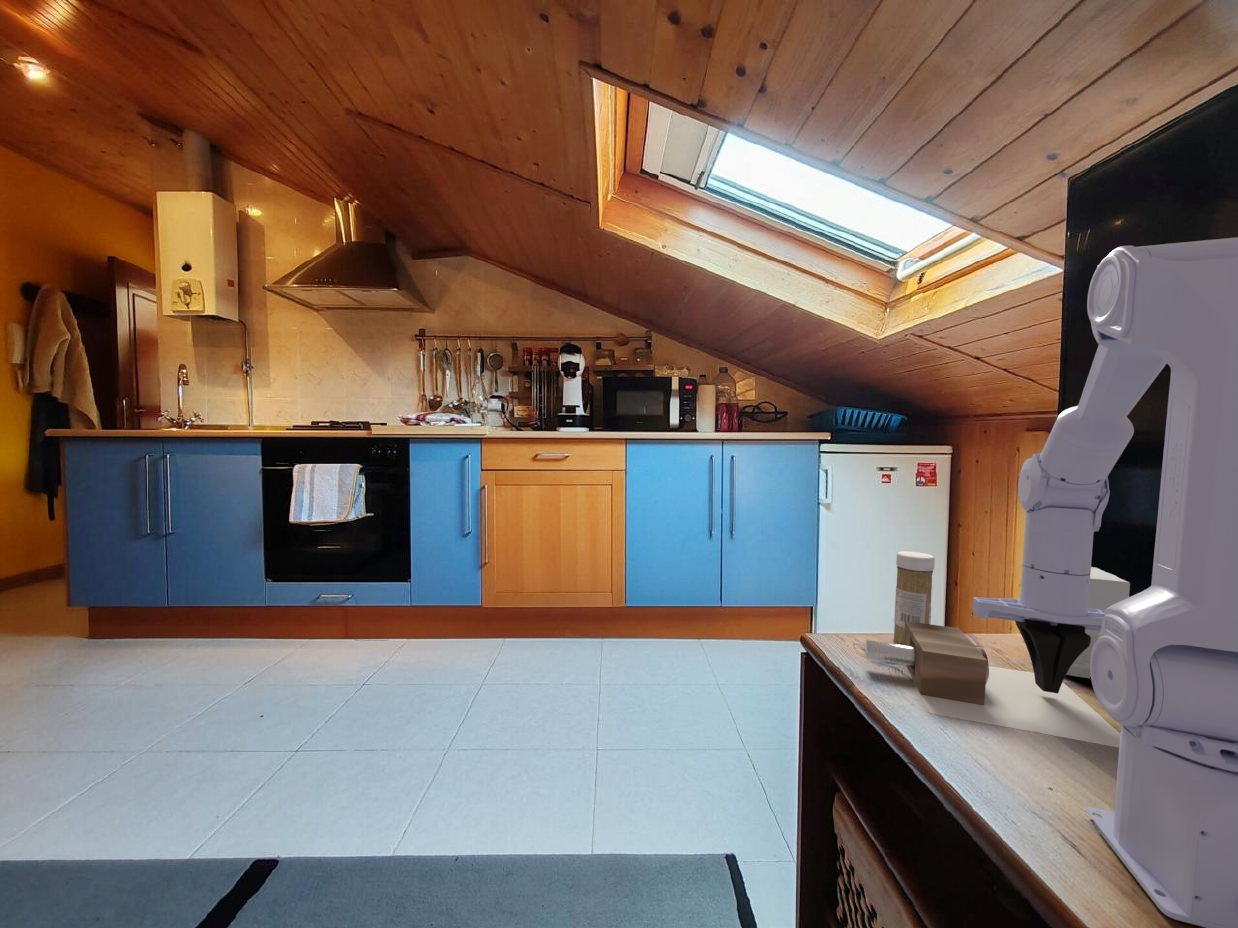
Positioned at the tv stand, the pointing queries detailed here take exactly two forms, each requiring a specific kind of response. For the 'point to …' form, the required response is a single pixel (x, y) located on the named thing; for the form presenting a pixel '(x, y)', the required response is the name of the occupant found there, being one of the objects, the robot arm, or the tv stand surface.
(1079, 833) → the tv stand surface
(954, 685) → the block
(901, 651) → the pin
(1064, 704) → the board
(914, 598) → the sprinkles bottle
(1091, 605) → the small box
